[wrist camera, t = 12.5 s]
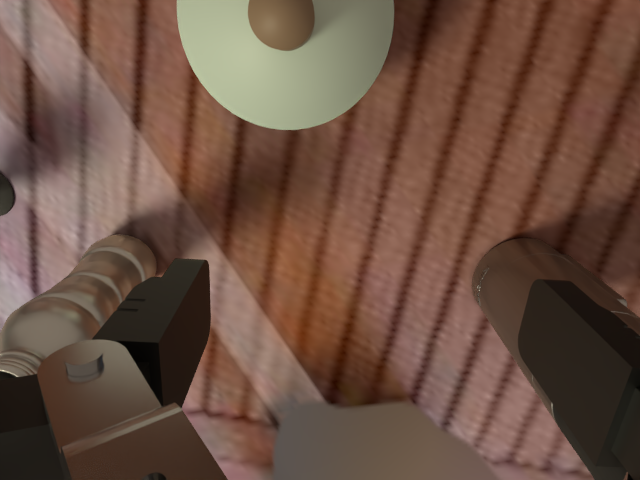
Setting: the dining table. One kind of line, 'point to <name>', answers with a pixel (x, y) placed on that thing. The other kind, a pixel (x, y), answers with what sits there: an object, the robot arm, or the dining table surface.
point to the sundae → (5, 195)
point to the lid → (286, 55)
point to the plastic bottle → (74, 304)
